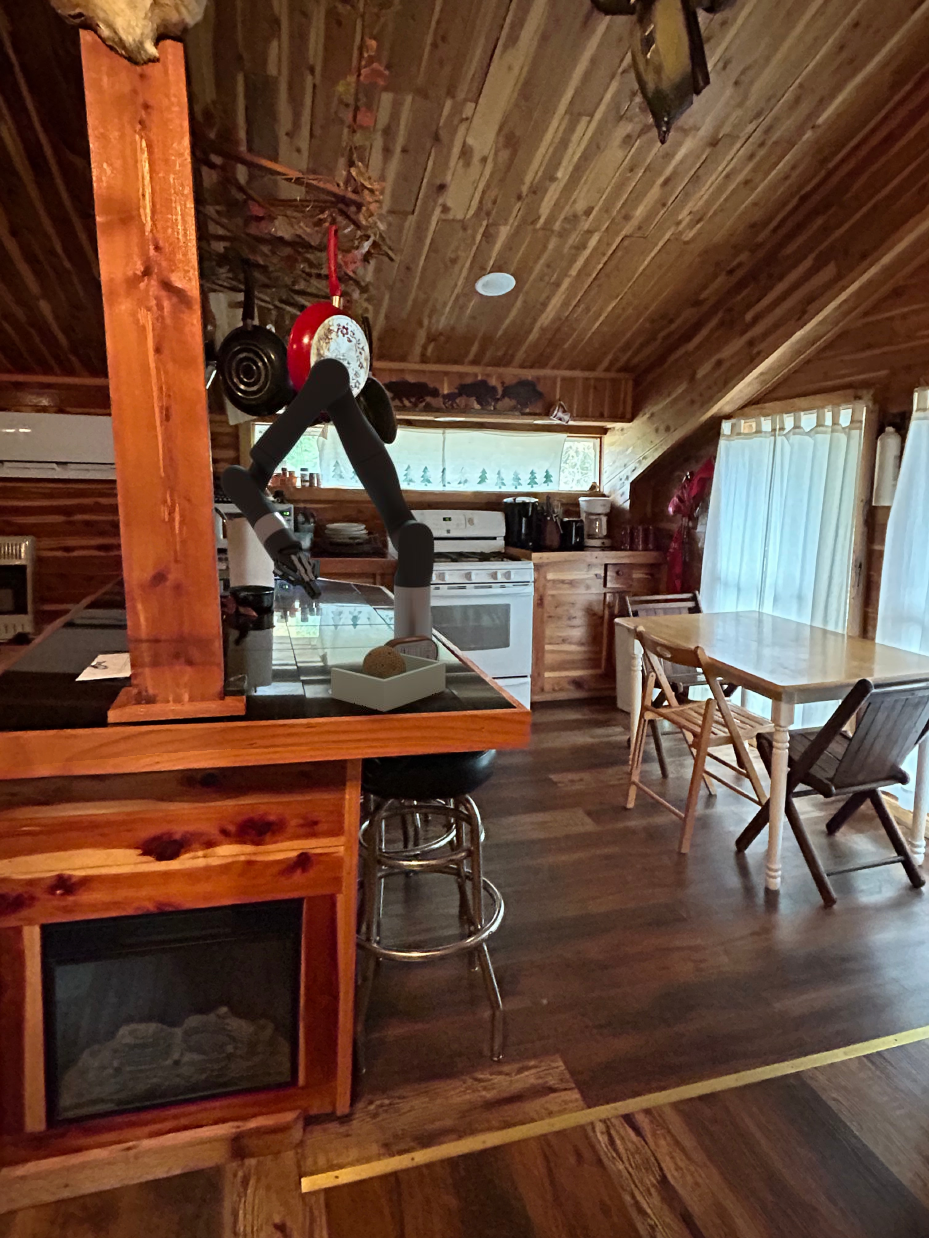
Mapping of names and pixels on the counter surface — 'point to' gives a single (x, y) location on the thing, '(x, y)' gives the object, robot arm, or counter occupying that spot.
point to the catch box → (390, 684)
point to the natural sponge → (383, 663)
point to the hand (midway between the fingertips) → (317, 597)
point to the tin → (415, 646)
